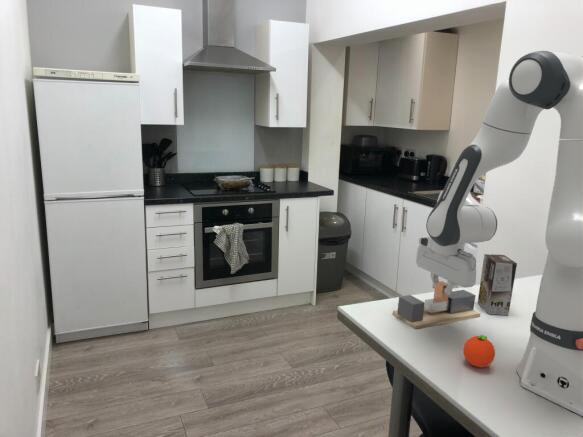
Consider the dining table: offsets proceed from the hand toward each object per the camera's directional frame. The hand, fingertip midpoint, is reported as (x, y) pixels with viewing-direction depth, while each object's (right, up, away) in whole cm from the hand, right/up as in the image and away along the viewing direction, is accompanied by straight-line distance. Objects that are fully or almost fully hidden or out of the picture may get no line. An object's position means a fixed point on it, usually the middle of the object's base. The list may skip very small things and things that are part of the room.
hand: (441, 291), depth 136 cm
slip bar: (+3, -5, +3) cm, 6 cm away
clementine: (0, -13, -25) cm, 28 cm away
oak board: (-1, -7, +1) cm, 7 cm away
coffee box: (+18, -7, +9) cm, 21 cm away
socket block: (-10, -7, -3) cm, 12 cm away
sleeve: (+6, -6, +4) cm, 9 cm away
